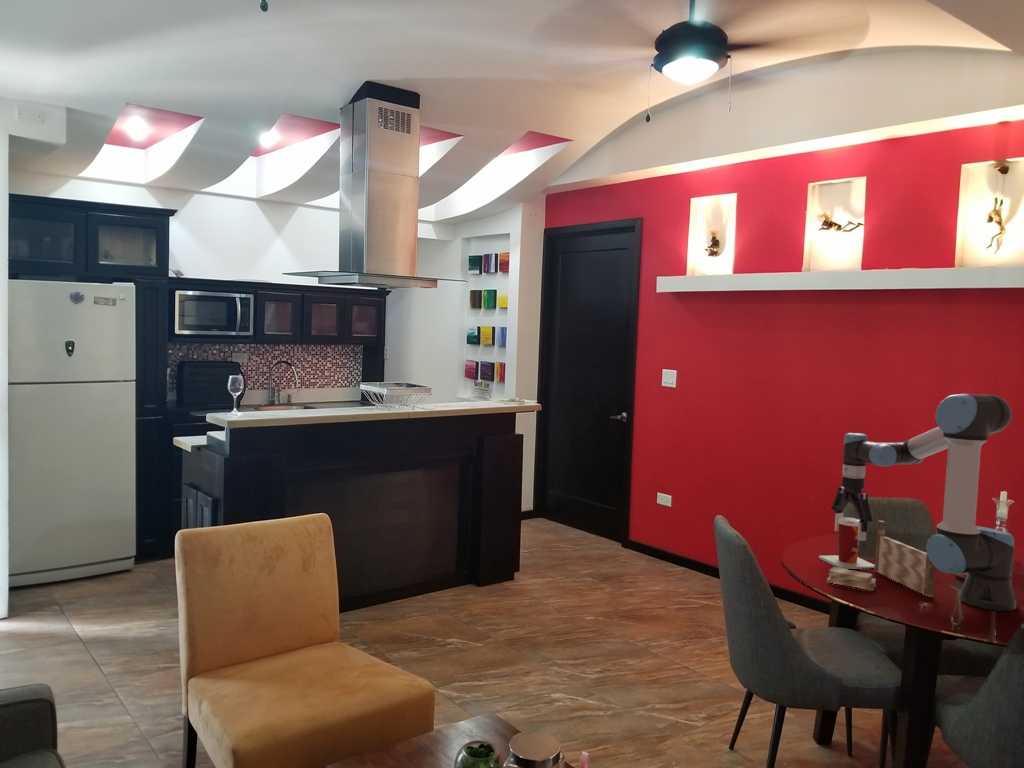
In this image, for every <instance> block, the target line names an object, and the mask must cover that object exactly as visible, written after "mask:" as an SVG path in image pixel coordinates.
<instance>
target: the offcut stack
mask: <svg viewBox="0 0 1024 768" xmlns="http://www.w3.org/2000/svg"><path fill="white" fill-rule="evenodd" d="M828 576H829V577H827V578H826V584H829V583H833V584H832V585H834V584H840V585H846V586H852V587H857V588H861V589H866V590H871V591H873V590H874V591H875V589H876V588H877V584H876V583H877V582H876V581H877V579H876V578H873V574H872V573H868V572H864V571H858V570H848V569H843V568H838V567H835V566H832V567H831V568H830V569H829V570H828ZM875 587H876V588H875ZM874 588H875V589H874ZM874 591H873V592H874Z"/></svg>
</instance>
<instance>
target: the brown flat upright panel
mask: <svg viewBox="0 0 1024 768" xmlns="http://www.w3.org/2000/svg"><path fill="white" fill-rule="evenodd" d="M886 524H887V523H886V521H884V520H877V526H876V528H877V529H876V541H875V542H876V543H875V556H874V565H875V568H874V569H873V572H874V571H876V572H878V573H880V574H882V575H884V576H886V577H885V578H887V577H888V578H887V579H889V578H890V579H889V580H891V579H892V580H891V581H893V580H894V581H893V582H895V581H896V582H895V583H897V582H899V583H901V584H903V585H902V586H904V585H905V586H904V587H906V586H907V587H906V588H908V587H909V588H908V589H910V588H911V589H910V590H912V589H913V590H912V591H914V590H915V591H914V592H916V591H917V592H916V593H918V592H919V594H920V593H922V594H921V595H923V596H924V595H925V596H924V597H927V596H928V597H927V598H933V597H934V582H935V571H936V567H935V566H934V565H933V563H932V562H931V561H930V559H929V557H928V555H927V551H926V552H925V551H923V550H920V549H918V548H915V547H912V546H911V545H908V544H906V543H903V542H900V541H898V540H896V539H893V538H890V537H888V536H886V526H887V525H886ZM929 539H930V538H928V539H927V541H928V540H929ZM876 572H875V573H876ZM878 573H877V574H878ZM880 574H879V575H880ZM882 575H881V576H882ZM884 576H883V577H884ZM899 583H898V584H899ZM901 584H900V585H901Z"/></svg>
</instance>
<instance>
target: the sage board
mask: <svg viewBox="0 0 1024 768" xmlns="http://www.w3.org/2000/svg"><path fill="white" fill-rule="evenodd" d="M818 559H819V560H821V561H823V562H825V563H826V564H829V565H832V567H835V566H836V567H838V568H843V569H860V570H869V569H868V568H875V563H871V562H870V561H867V560H865V559H864V558H863V559H862V558H860V557H859V556H858V557H857V562H856V563H845V562H841V561H839V554H838V555H835V554H833V555H819V556H818ZM863 568H864V569H863ZM865 568H867V569H865Z"/></svg>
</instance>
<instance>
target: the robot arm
mask: <svg viewBox="0 0 1024 768" xmlns="http://www.w3.org/2000/svg"><path fill="white" fill-rule="evenodd" d="M1012 416H1013V414H1012V408H1011V406H1010V404H1009V403H1008V402H1007V401H1006V400H1005V399H1004V398H1003V397H1000V396H998V395H996V394H990V393H989V394H986V393H985V394H980V393H979V394H973V393H959V394H952V395H948V396H946V397H945V398H944V399H943V400H941V401H940V403H938V405H937V407H936V410H935V422H936V424H937V425H938V426H937V427H934V428H932V429H930V430H927V431H926V432H923V433H920V434H918V435H916V436H914V437H912V438H910V439H907V440H905V441H903V442H875V441H869V440H868V435H867V434H865V433H858V432H855V433H854V432H847V433H845V435H844V439H843V444H842V445H843V454H842V474H841V475H843V476H841V486H838V487H837V492H836V494H835V497H834V500H833V503H832V506H831V510H832V511H834V521H835V522H834V532H839V523H838V521H839V518H842V517H844V509H846V507H847V506H848V504H849V503H850V504H852V505H853V506H854V508H855V511H856V513H857V516H858V519H859V520H860V521H859V526H858V541H860V542H861V541H862V542H864V541H867V532H868V524H869V523H870V522H871V523H872V522H873V518H872V513H871V508H870V504H869V500H868V497H869V495H868V493H862V490H863V489H864V488H865V483H866V482H865V477H866V466H867V464H871V465H875V466H877V467H884V468H885V467H886V468H887V467H890V466H892V465H911V466H912V465H915V464H916V465H917V464H921V463H922V462H923V461H924V460H925V458H927V457H930V456H932V455H934V454H937V453H940V452H942V451H944V450H947V459H946V472H945V473H946V474H945V482H944V483H945V484H944V485H945V486H944V499H943V500H944V501H943V514H942V521H941V522H939V523H938V524H937V525H936V532H935V533H936V534H933V535H931V536H930V538H928V539H929V540H928V539H927V542H926V553H927V555H928V557H929V559H930V561H931V562H932V563H933V565H934V566H935V569H937V570H938V571H940V572H941V573H945V574H955V575H959V574H964V573H965V574H967V575H966V577H965V579H964V582H963V585H962V587H961V588H960V589H959V593H958V595H959V597H958V599H959V600H960V601H961V602H963V603H965V604H967V605H969V606H972V607H975V608H979V609H985V610H988V611H989V610H990V611H997V612H1011V611H1015V610H1016V609H1017V599H1016V597H1015V592H1014V588H1013V585H1012V575H1013V563H1014V552H1015V538H1014V536H1013V535H1012V534H1011V533H1009V532H1005V531H1003V530H998V529H995V528H989V527H984V526H978V525H976V521H977V520H976V519H977V505H978V495H979V493H978V492H979V480H980V479H979V478H980V465H981V451H982V446H983V445H984V444H986V443H988V438H989V437H988V436H992V435H994V434H996V433H999V432H1002V431H1004V430H1005V429H1006V428H1007V427H1008V426H1009V424H1011V420H1012Z"/></svg>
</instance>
